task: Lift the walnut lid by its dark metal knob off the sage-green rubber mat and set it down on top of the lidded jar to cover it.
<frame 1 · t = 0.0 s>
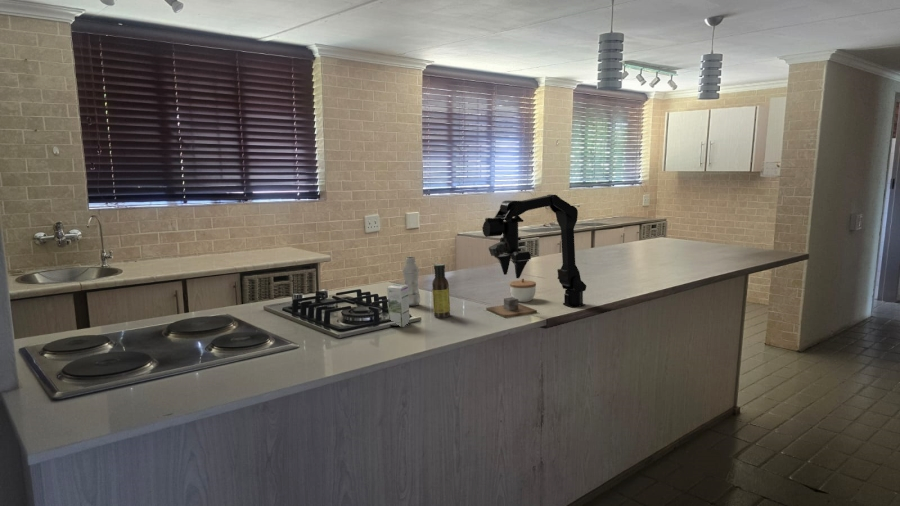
hand: (511, 276, 215), 15 cm above the countertop, fingers open, 9 cm apart
lid: (511, 311, 220), resting on mat
sauce bottle: (441, 317, 218), on the countertop
mat: (511, 312, 220), on the countertop
lidded jar: (523, 301, 239), on the countertop
syrup box: (399, 325, 208), on the countertop
plastic bottle: (412, 306, 238), on the countertop
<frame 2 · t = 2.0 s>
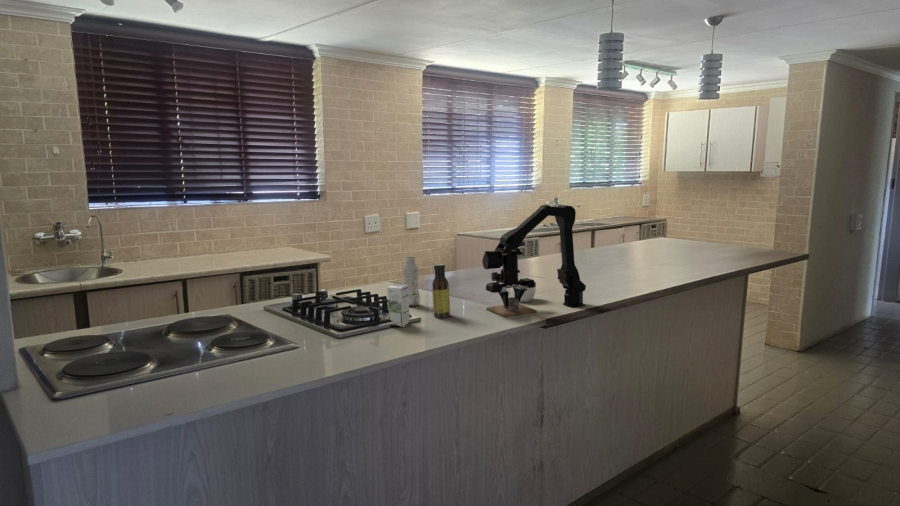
hand: (511, 307, 220), 2 cm above the countertop, fingers closed on lid, 4 cm apart
lid: (511, 311, 220), resting on mat, touching gripper
everything else where it was.
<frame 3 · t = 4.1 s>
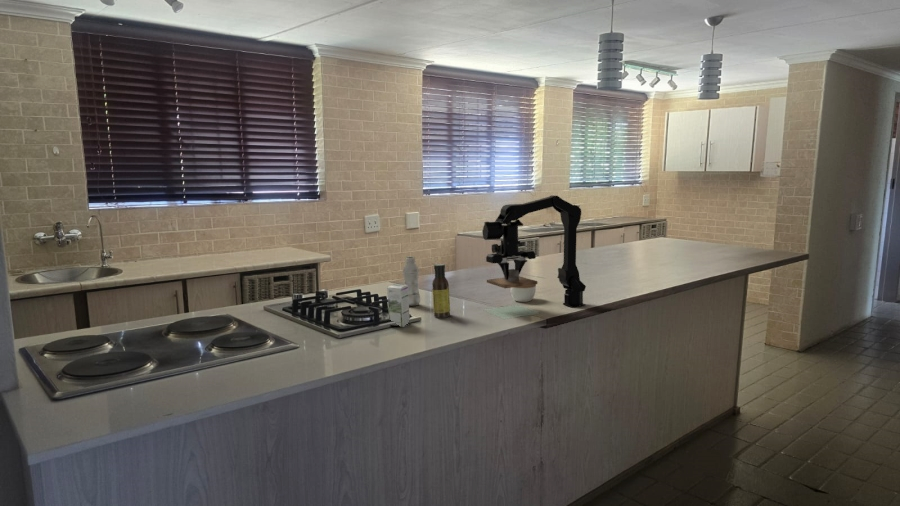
hand: (511, 278, 219), 13 cm above the countertop, fingers closed on lid, 4 cm apart
lid: (511, 283, 220), point 11 cm above the countertop, touching gripper
everything else where it was.
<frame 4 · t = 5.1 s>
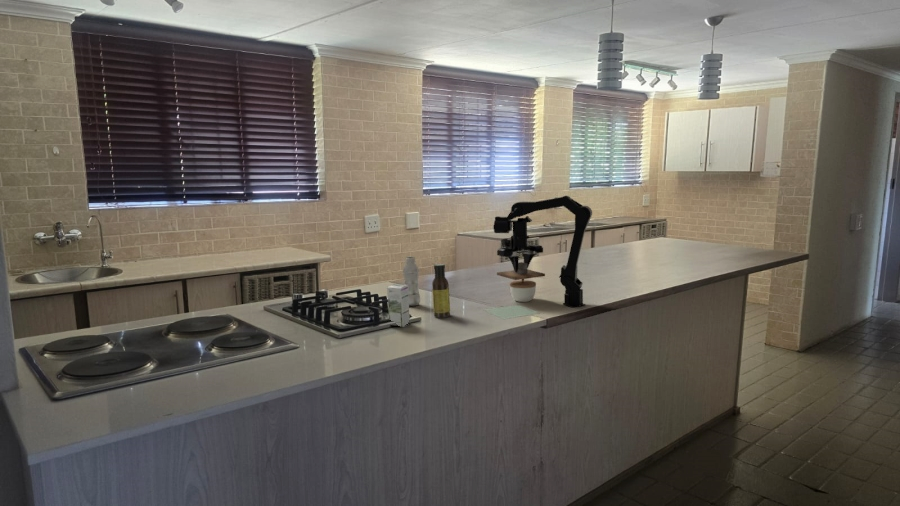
hand: (520, 271, 234), 13 cm above the countertop, fingers closed on lid, 4 cm apart
lid: (520, 275, 234), point 11 cm above the countertop, touching gripper
everything else where it was.
when the fingers open (11 cm above the countertop, at t = 6.1 s): lid stays where it is, resting on lidded jar.
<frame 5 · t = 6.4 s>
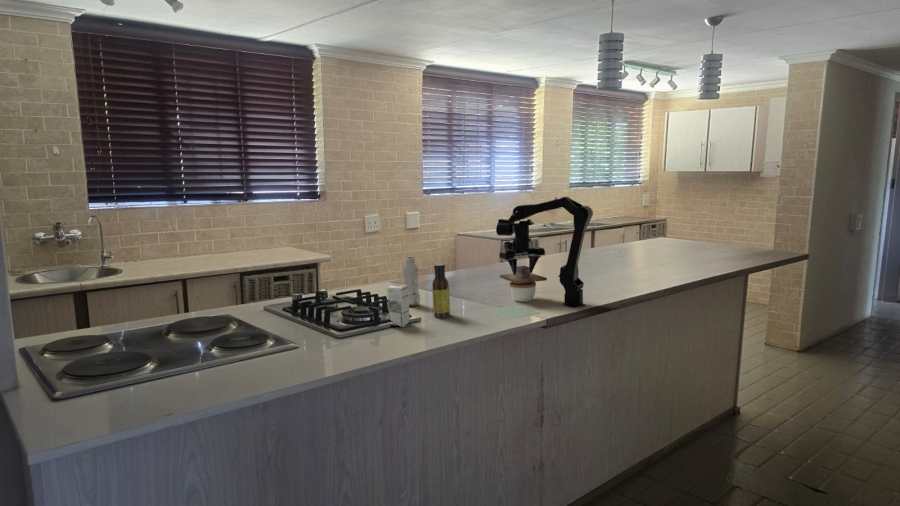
hand: (522, 273, 237), 11 cm above the countertop, fingers open, 7 cm apart
lid: (522, 278, 237), point 9 cm above the countertop, touching lidded jar
lidded jar: (523, 301, 239), on the countertop, touching lid
everything else where it was.
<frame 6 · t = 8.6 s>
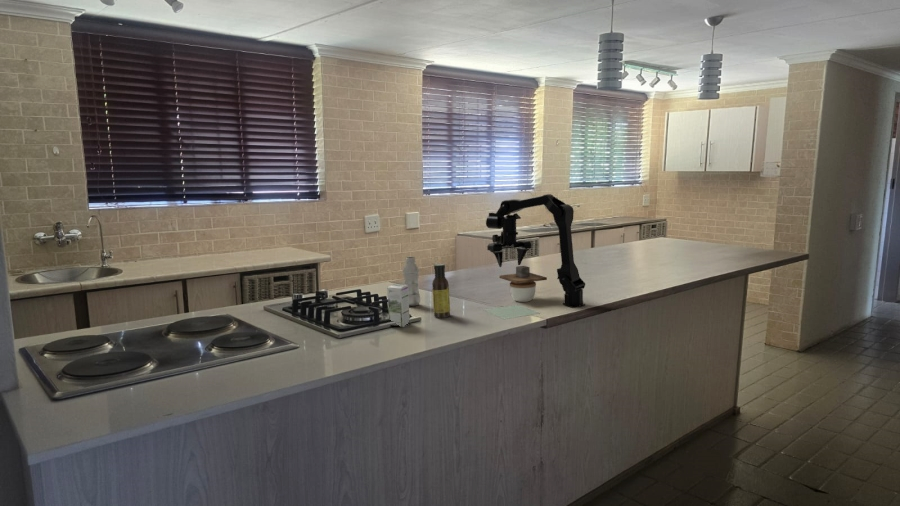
hand: (509, 266, 246), 13 cm above the countertop, fingers open, 9 cm apart
nothing on the countertop moved.
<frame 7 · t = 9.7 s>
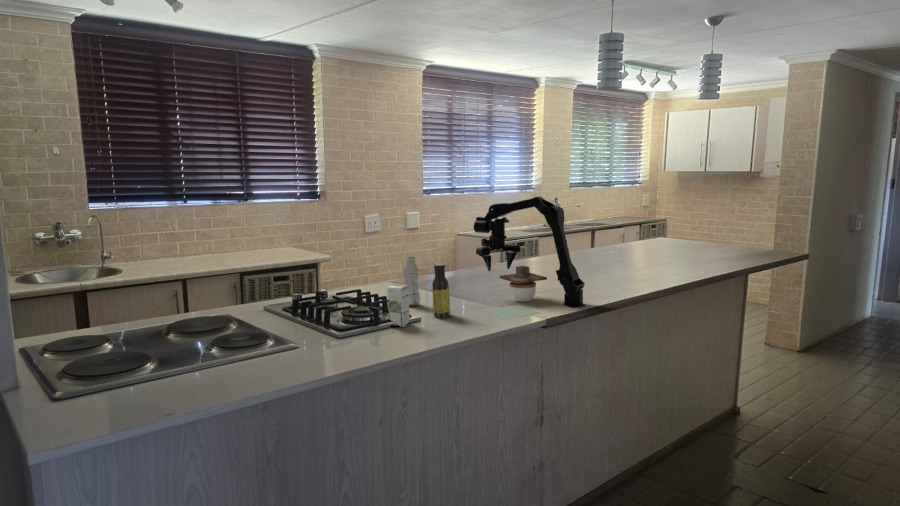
hand: (498, 269, 245), 12 cm above the countertop, fingers open, 9 cm apart
nothing on the countertop moved.
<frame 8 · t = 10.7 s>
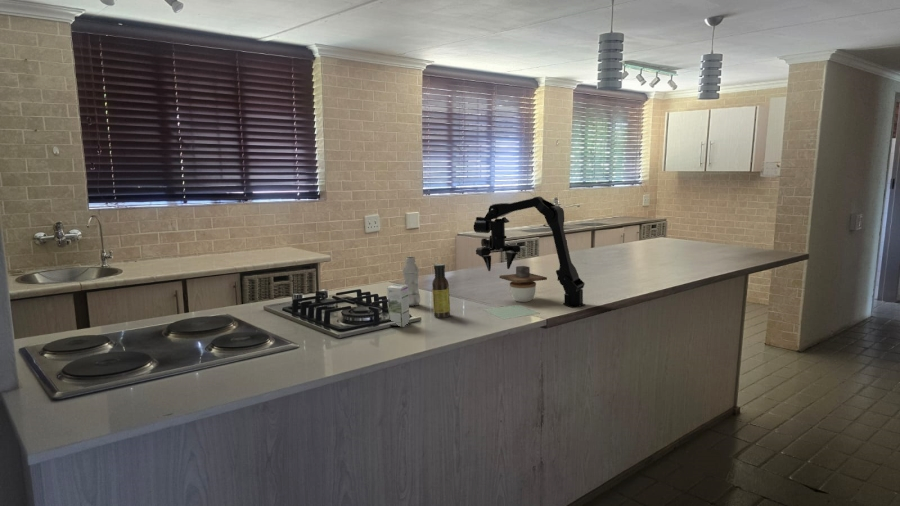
hand: (498, 270, 245), 12 cm above the countertop, fingers open, 9 cm apart
nothing on the countertop moved.
at the end: lid 0.1 cm from the lidded jar (horizontally); lid point 9.4 cm above the countertop; lid tilted 1° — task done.
